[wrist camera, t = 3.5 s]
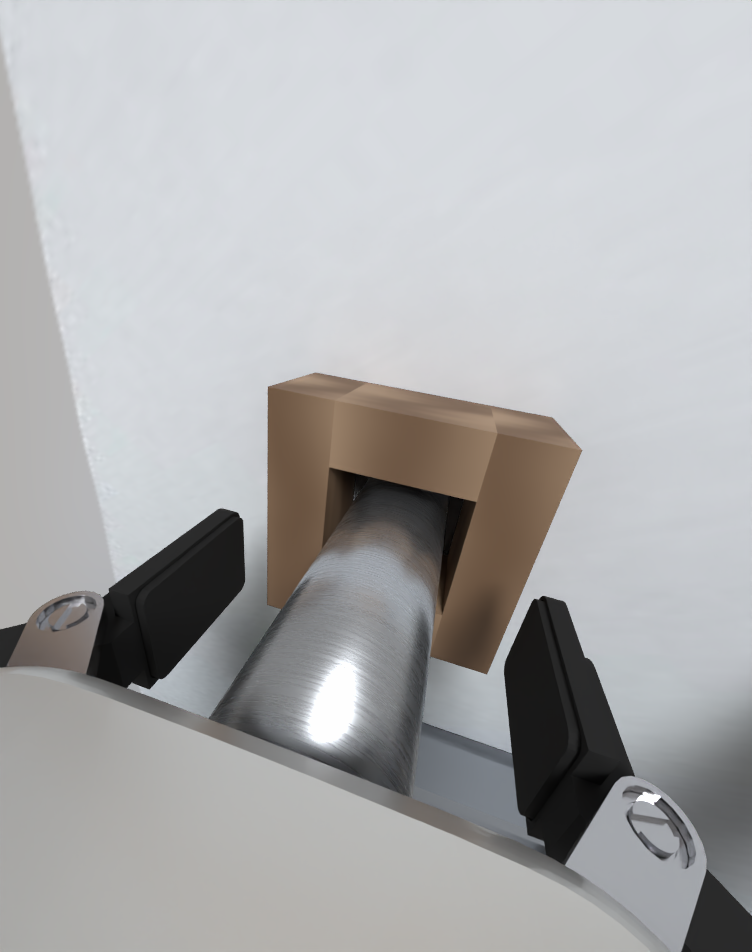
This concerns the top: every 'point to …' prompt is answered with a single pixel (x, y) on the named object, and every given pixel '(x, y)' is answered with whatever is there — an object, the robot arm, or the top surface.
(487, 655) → the block
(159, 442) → the top surface
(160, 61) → the top surface
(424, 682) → the steel pin
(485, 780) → the tray
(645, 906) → the robot arm
